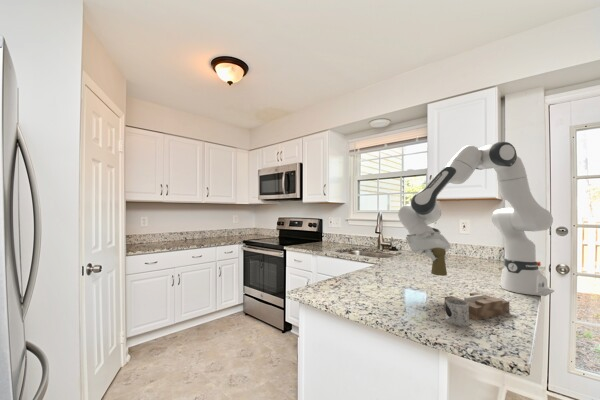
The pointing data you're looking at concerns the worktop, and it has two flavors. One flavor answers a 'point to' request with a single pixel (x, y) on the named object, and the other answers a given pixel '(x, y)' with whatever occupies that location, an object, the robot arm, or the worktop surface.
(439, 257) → the cork
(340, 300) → the worktop surface
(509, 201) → the robot arm
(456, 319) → the mug
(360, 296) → the worktop surface
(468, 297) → the latch tongue
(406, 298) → the worktop surface
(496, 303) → the walnut dock
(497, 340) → the worktop surface
